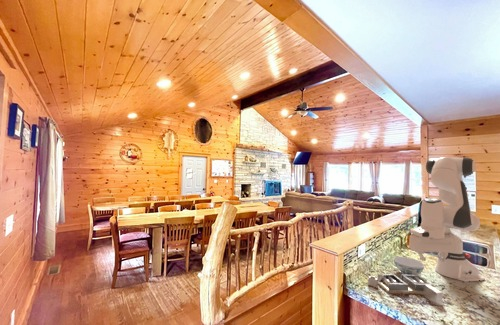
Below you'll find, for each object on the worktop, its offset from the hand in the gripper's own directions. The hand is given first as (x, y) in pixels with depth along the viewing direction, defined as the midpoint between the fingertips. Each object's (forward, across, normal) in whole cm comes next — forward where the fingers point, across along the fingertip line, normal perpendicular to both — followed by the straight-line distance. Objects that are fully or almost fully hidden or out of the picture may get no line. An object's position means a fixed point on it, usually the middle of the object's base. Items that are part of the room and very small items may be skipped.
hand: (432, 260), depth 103 cm
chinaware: (+19, -7, -26) cm, 33 cm away
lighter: (+20, +21, -11) cm, 31 cm away
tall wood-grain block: (+19, 0, 0) cm, 19 cm away
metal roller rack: (+19, +6, -11) cm, 23 cm away
